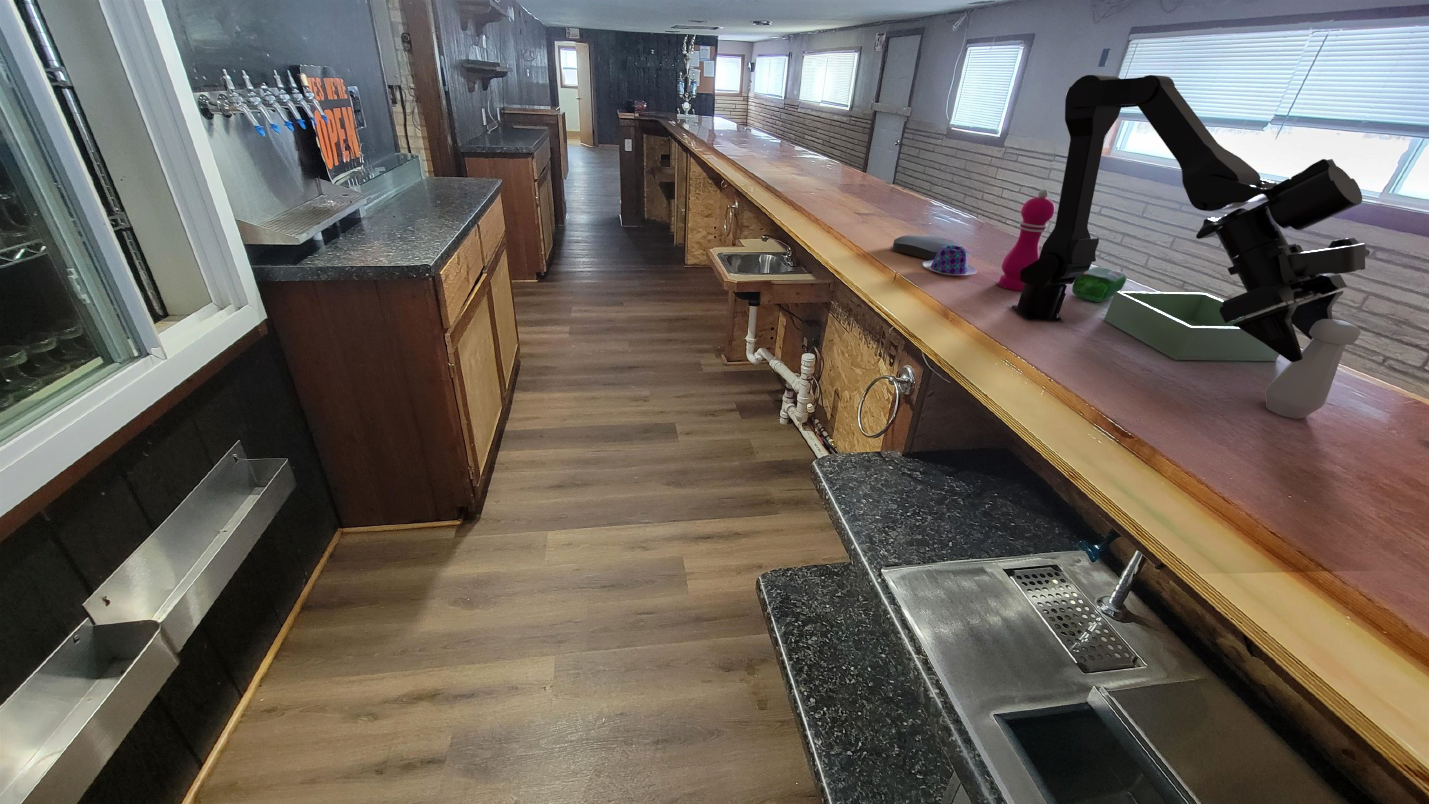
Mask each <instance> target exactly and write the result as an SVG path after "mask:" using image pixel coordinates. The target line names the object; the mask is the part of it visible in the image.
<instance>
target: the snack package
mask: <svg viewBox="0 0 1429 804" xmlns="http://www.w3.org/2000/svg"><path fill="white" fill-rule="evenodd" d="M1127 279H1128V275H1127V274H1126V273H1125V272H1123V271H1121V270H1116V269H1112V268H1107V267H1102V266H1093V267H1090V268H1089V270H1088V271H1086V272H1085V273H1084V274H1082V275H1081V276H1078V277H1077V279H1076V280H1075V281H1074V282H1073V283H1072V288H1071V291H1072V293H1073V295H1074V296H1075V297H1077V298H1080V299H1083V300H1088V301H1091V302H1094V303H1102V302H1104V301H1106V300H1107V299H1109V298H1111V297H1113V296H1114V294H1115V291H1121V290H1122V289H1123V288H1124V286H1125V284H1126V282H1127Z"/></svg>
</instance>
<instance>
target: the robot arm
mask: <svg viewBox="0 0 1429 804" xmlns="http://www.w3.org/2000/svg"><path fill="white" fill-rule="evenodd" d="M1134 107H1135V108H1136V107H1138V109H1139V110H1140V111H1141V113H1142V114H1143V116H1144V117H1145V118H1146V120H1147V122H1148V123H1149V124H1150V125H1151V127H1152V128H1153V129H1154V131H1155V132H1156V134H1157V135H1158V136H1159V138H1160V139H1161V140H1162V142H1163V143H1164V145H1165V146H1166V147H1167V149H1168V150H1169V152H1170V153H1171V154H1172V156H1173V157H1174V158H1175V160H1176V161H1177V163H1178V165H1179V167H1180V170H1181V182H1182V183H1181V184H1182V185H1183V189H1184V190H1185V193H1186V195H1187V198H1188V200H1189V202H1190V204H1191V205H1192V206H1193V207H1194V209H1197V210H1199V211H1203V212H1216V211H1226V210H1233V211H1231V212H1229V213H1226V214H1225V215H1223V216H1221V217H1219V218H1215V217H1211V218H1209V217H1208V218H1205V219H1204V220H1203V223H1202V225H1201V227H1200V228H1199V230H1198V232H1197V233H1196V236H1195V238H1196V239H1197V240H1201V239H1202V240H1203V239H1208V238H1213V237H1215V236H1217V238H1218V240H1219V242H1220V243H1221V245H1222V247H1223V249H1224V251H1225V253H1226V255H1227V257H1228V258H1229V260H1230V262H1231V264H1232V266H1230V267H1228V268H1227V272H1228V273H1229V275H1230V276H1233V275H1237V276H1238V277H1239V280H1240V281H1241V283H1242V285H1243V287H1244V290H1245V291H1246V292H1244V293H1241V294H1237V295H1235V296H1233V297H1231V298H1228V299H1225V300H1223V303H1222V305H1221V307H1220V309H1219V312H1220V314H1221V316H1222V317H1223V319H1224V321H1225V323H1228V322H1231V321H1235V320H1238V319H1241V317H1244V319H1245V320H1242V321H1240V322H1237V323H1234V324H1233V326H1234V327H1238V328H1240V329H1242V330H1243V331H1245V332H1247V333H1248V334H1250V335H1251V336H1253V337H1255V338H1256V339H1258V340H1259V341H1261V342H1262V343H1264V344H1265V345H1267V346H1268V347H1270V348H1271V349H1273V350H1274V351H1276V352H1277V353H1279V354H1280V355H1279V356H1282V357H1283V358H1285V359H1286V360H1287V361H1288V362H1289V363H1291V362H1296V361H1300V360H1302V359H1303V356H1302V352H1301V351H1302V349H1301V346H1300V342H1299V340H1298V337H1297V334H1296V330H1295V328H1296V329H1298V330H1299V332H1300V333H1302V334H1303V335H1304V336H1305V337H1307V338H1308V340H1309V341H1310V340H1311V339H1312V338H1313V337H1312V336H1311V335H1310V334H1309V331H1310V329H1311V327H1312V326H1313V325H1314V324H1315V322H1317V321H1319V320H1322V319H1333V306H1334V305H1335V304H1336V302H1337V301H1338V299H1339V298H1340V297H1341V296H1343V295H1344V293H1345V292H1344V290H1342V289H1345V288H1347V287H1348V286H1347V284H1346V282H1345V280H1344V279H1343V277H1342V275H1341V274H1347V273H1354V272H1357V271H1362V270H1366V257H1368V256H1369V255H1370V254H1371V251H1370V250H1369V249H1368V248H1367V247H1366V243H1360V242H1359V241H1358V240H1357V239H1356V237H1348V238H1340V239H1335V240H1332V241H1331V242H1330V244H1329V245H1328V247H1327V248H1323V249H1317V250H1310V251H1304V250H1303V247H1302V246H1301V245H1300V244H1297V243H1291V244H1289V243H1288V241H1287V239H1286V237H1285V235H1284V233H1283V231H1282V230H1281V228H1282V229H1288V228H1290V227H1291V228H1292V229H1294V230H1296V231H1303V230H1306V229H1308V228H1309V227H1312V226H1314V225H1316V224H1318V223H1321V222H1323V221H1326V220H1327V219H1330V218H1332V217H1334V216H1337V215H1339V214H1341V213H1343V212H1346V211H1347V210H1350V209H1352V208H1354V207H1357V206H1359V205H1361V204H1362V202H1363V193H1362V191H1361V188H1360V185H1359V184H1358V183H1357V181H1356V179H1355V178H1352V177H1350V176H1349V174H1347V172H1346V171H1345V170H1344V169H1342V168H1340V166H1338V165H1337V164H1336V163H1335V161H1334V159H1333V158H1322V159H1320V160H1318V161H1316V162H1314V163H1312V164H1310V165H1309V166H1308V167H1307V168H1305V169H1304V170H1302V171H1300V172H1298V173H1297V174H1294V175H1293V176H1290V177H1289V178H1287V179H1284V180H1283V181H1281V182H1279V183H1278V181H1276V182H1275V181H1271V180H1267V179H1263V178H1261V175H1260V173H1259V172H1258V171H1257V170H1256V169H1255V168H1253V167H1252V166H1251V165H1250V164H1249V163H1247V162H1246V161H1245V160H1244V159H1242V158H1241V157H1239V156H1238V155H1236V154H1234V153H1233V152H1231V151H1229V150H1227V149H1226V148H1224V147H1223V146H1222V145H1220V144H1219V143H1218V142H1217V140H1216V139H1215V137H1214V136H1213V135H1212V133H1211V132H1210V131H1209V130H1208V128H1207V127H1206V126H1205V124H1204V123H1203V122H1202V120H1201V119H1200V118H1199V116H1197V113H1195V111H1194V109H1192V108H1191V106H1190V105H1189V104H1188V102H1187V100H1186V99H1185V98H1184V97H1183V95H1182V94H1181V93H1180V92H1179V90H1178V89H1177V88H1176V85H1175V82H1174V79H1172V78H1171V77H1170V76H1166V75H1157V74H1148V75H1144V76H1139V77H1130V78H1129V77H1127V78H1121V77H1119V76H1113V75H1098V74H1086V75H1083V76H1081V77H1079V78H1078V79H1076V80H1075V82H1074V83H1073V84H1072V85H1070V86H1069V87H1068V90H1067V91H1066V94H1065V98H1064V122H1065V126H1066V129H1067V132H1068V135H1069V146H1068V150H1067V156H1066V163H1065V167H1064V173H1063V179H1062V185H1061V191H1060V195H1059V196H1060V197H1059V202H1058V207H1057V213H1056V218H1055V224H1054V227H1053V228H1052V231H1051V232H1050V234H1049V235H1048V236H1047V238H1046V240H1045V241H1044V242H1043V244H1042V247H1041V250H1040V252H1039V259H1038V260H1037V261H1035V262H1034V263H1032V264H1030V265H1028V266H1027V267H1025V268H1023V269H1022V270H1021V282H1024V283H1025V284H1024V287H1023V290H1022V291H1021V294H1020V295H1019V296H1020V297H1019V300H1018V302H1017V305H1016V304H1012V305H1011V309H1012V310H1014V311H1015V312H1017V313H1018V314H1020V315H1021V316H1023V318H1025V319H1027V320H1031V321H1035V320H1036V321H1038V320H1039V321H1042V320H1043V321H1062V316H1061V315H1059V314H1060V313H1061V309H1062V307H1063V304H1064V301H1065V298H1066V295H1067V293H1066V291H1067V287H1068V285H1073V284H1074V281H1075V280H1076V279H1077V277H1078V276H1081V275H1082V274H1084V273H1085V272H1086V271H1088V270H1089V269H1091V266H1092V263H1095V262H1097V258H1096V251H1097V249H1098V246H1099V243H1100V237H1091V234H1090V231H1089V228H1088V227H1089V225H1088V224H1089V220H1090V215H1091V211H1092V210H1091V209H1092V204H1093V201H1094V200H1093V198H1094V196H1095V195H1094V194H1095V190H1096V183H1097V179H1098V175H1099V170H1100V164H1101V158H1102V154H1103V148H1104V145H1105V139H1106V136H1107V134H1108V133H1109V131H1110V130H1111V128H1112V127H1113V125H1114V124H1115V122H1116V121H1117V119H1118V118H1119V115H1120V114H1121V111H1122V109H1123V108H1134ZM1253 202H1262V203H1261V204H1259V205H1257V206H1255V207H1253V208H1250V209H1246V208H1244V207H1243V206H1245V205H1247V204H1248V203H1253ZM1339 290H1340V291H1339Z"/></svg>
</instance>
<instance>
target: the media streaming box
mask: <svg viewBox="0 0 1429 804" xmlns="http://www.w3.org/2000/svg"><path fill="white" fill-rule="evenodd" d="M945 245H950V246H958V247H963V248H964V245H963V244H961V243H960V242H957V241H954V240H952V239H949V238H944V237H940V236H933V235H917V234H916V235H915V234H906V235H902V236H899V237H897V238H895V239H894V240H893V243H892V250H893V251H895V252H898V253H902V254H906V255H909V256H912V257H913V256H914V257H918V258H922V259H926V260H934V259H935V257H936V255H937V253H938V251H939V249H940V248H941V247H942V246H945Z"/></svg>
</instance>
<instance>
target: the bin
mask: <svg viewBox="0 0 1429 804" xmlns="http://www.w3.org/2000/svg"><path fill="white" fill-rule="evenodd" d="M1223 301H1224V300H1223V299H1221V298H1218V297H1216V296H1213V295H1211V294H1209V293H1207V292H1178V291H1177V292H1175V291H1172V292H1171V291H1127V290H1126V291H1125V290H1123V291H1121V290H1120V291H1115V294H1114V295H1113V296H1112V298H1111V301H1110V304H1109V306H1108V309H1107V311H1106V314H1105V316H1104V317H1103V321H1105V322H1107V323H1108V324H1110V325H1112V326H1114V327H1115V328H1118V329H1119V330H1121V331H1123V332H1124V333H1127V334H1129V335H1130V336H1132V337H1134V338H1135V339H1137V340H1138V341H1141V342H1143V343H1145V345H1148V346H1150V347H1151V348H1153V349H1155V350H1157V351H1158V352H1160V353H1162V354H1164V355H1165V356H1167V357H1170V358H1171V359H1173V360H1175V361H1228V362H1229V361H1231V362H1232V361H1234V362H1235V361H1236V362H1237V361H1239V362H1240V361H1241V362H1242V361H1245V362H1277V360H1278V358H1279V357H1280V356H1281V355H1280V354H1279V353H1277V352H1276V351H1274V350H1273V349H1271V348H1270V347H1268V346H1267V345H1265V344H1264V343H1262V342H1261V341H1259V340H1258V339H1256V338H1255V337H1253V336H1251V335H1250V334H1248V333H1247V332H1245V331H1243V330H1242V329H1240V328H1238V327H1234V326H1233V324H1234V323H1237V322H1240V321H1242V320H1245V319H1244V317H1241V319H1238V320H1235V321H1231V322H1228V323H1225V321H1224V319H1223V317H1222V316H1221V314H1220V312H1219V309H1220V307H1221V305H1222V303H1223Z"/></svg>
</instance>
